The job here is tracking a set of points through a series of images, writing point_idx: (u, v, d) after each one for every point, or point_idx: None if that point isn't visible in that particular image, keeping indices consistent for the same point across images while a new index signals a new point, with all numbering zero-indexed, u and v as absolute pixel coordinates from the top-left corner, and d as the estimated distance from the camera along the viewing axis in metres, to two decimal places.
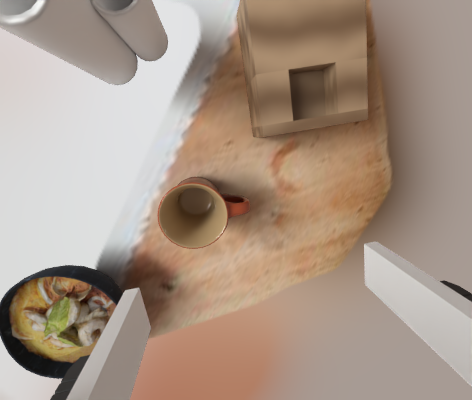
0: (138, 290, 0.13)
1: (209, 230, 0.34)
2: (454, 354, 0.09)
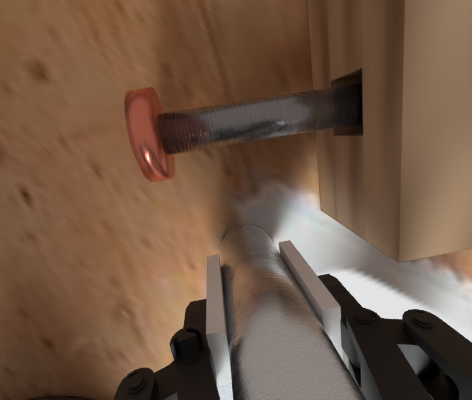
0: (218, 256, 0.16)
1: None
2: None
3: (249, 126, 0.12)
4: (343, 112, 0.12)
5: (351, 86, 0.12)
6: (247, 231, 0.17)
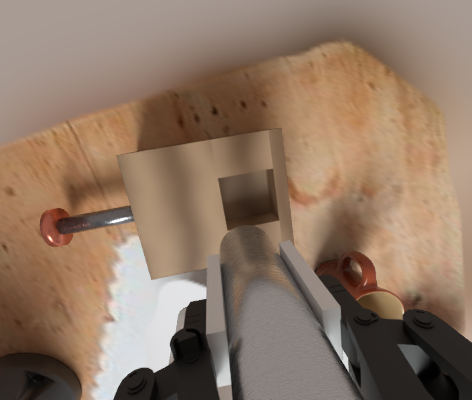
0: None
1: (383, 296, 0.32)
2: None
3: (96, 224, 0.29)
4: None
5: None
6: (246, 232, 0.17)
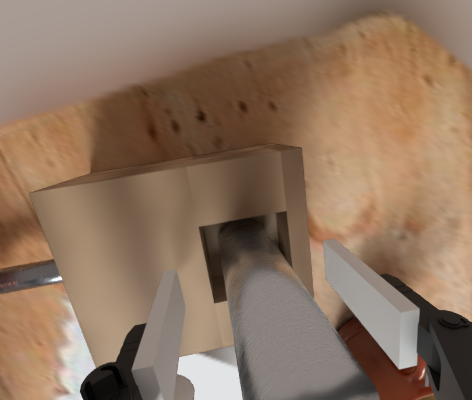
0: (176, 271, 0.15)
1: None
2: (384, 338, 0.11)
3: (19, 285, 0.19)
4: None
5: None
6: (243, 222, 0.19)
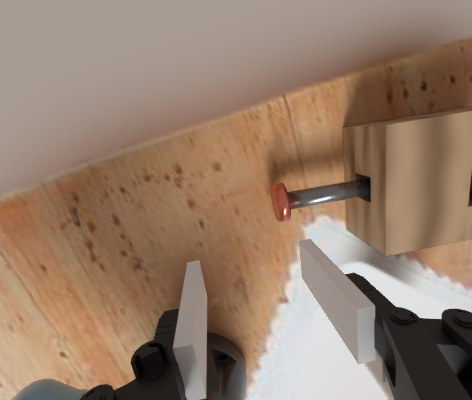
0: (199, 262, 0.15)
1: None
2: (347, 334, 0.11)
3: (323, 199, 0.28)
4: (362, 192, 0.29)
5: (365, 180, 0.29)
6: None
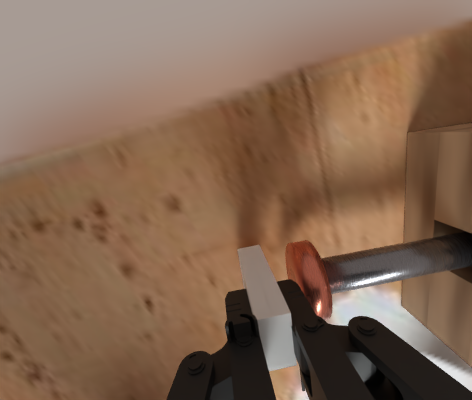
0: (249, 248, 0.16)
1: None
2: None
3: (394, 277, 0.14)
4: (471, 262, 0.14)
5: None
6: None
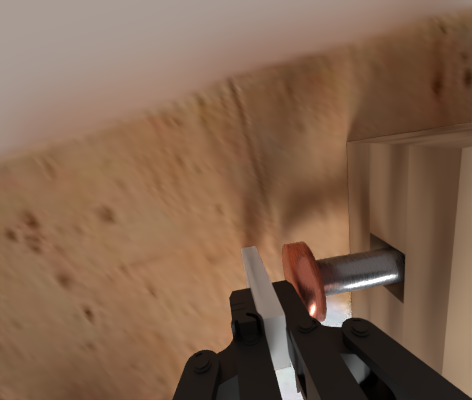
0: (252, 248, 0.16)
1: None
2: None
3: (391, 279, 0.14)
4: None
5: None
6: None
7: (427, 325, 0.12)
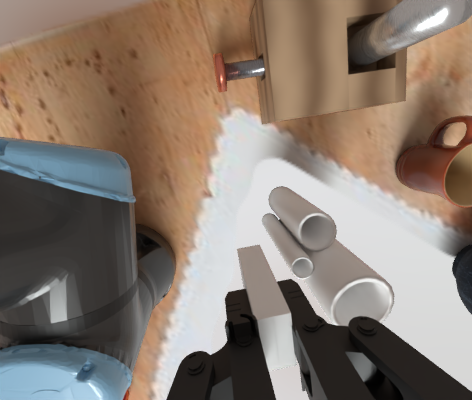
0: (248, 248, 0.16)
1: None
2: None
3: (257, 68, 0.32)
4: None
5: None
6: None
7: (268, 74, 0.30)
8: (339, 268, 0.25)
